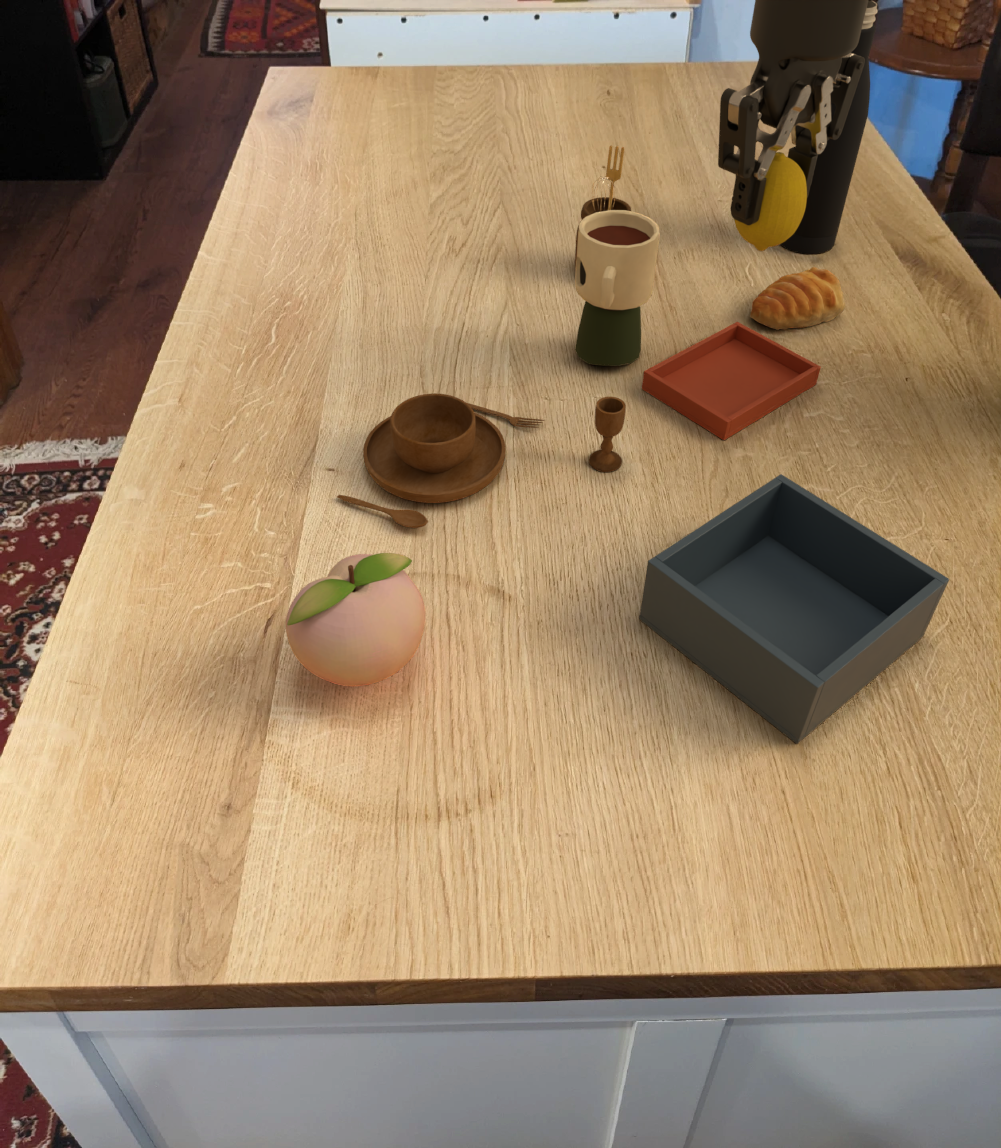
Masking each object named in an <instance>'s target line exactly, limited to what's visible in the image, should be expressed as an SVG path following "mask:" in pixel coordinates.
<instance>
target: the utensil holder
mask: <svg viewBox="0 0 1001 1148" xmlns="http://www.w3.org/2000/svg"><path fill="white" fill-rule="evenodd" d="M612 153H613V145H609V148H608V155H607V163H606V172H605V176H604V177H603V176H599V177H598V178H597V179H596V181H594V182H593V184H592V187H591V188H592V189H591V193H595V191H596V189H599V183H600V182H601V181H602V180H603V181H602V185H601V188H603V186H604V181H605V183H606V185H607V186H608V191H609V194H608V195H609V196H607V191H605V195H604V196H602V195H603V190H600V191H601V192H600V197H598V196H596V197H593V198H590V199H588V200H587V201H585V202H584V203H583V204H582V208H581V210H580V211H581V212H580V219H581V220H580V221H579V223H580V222H581V221H582V220H583V219H584V218H585V217H586V216H589V215H591V214H594V213H596V212H602V211H608V210H626V211H631V212H632V207H631V206H630V204H629V203H628V202H626V201H625V200H623V199H619V198H616V197H614V190H615V189H616V187H615V182H617V181H619V180H620V179H621V178H622V171H623V163H624V162H623V161H624V155H625V147H624V146H622V147H621V148H620V154H619V146H615V148H614V155H613V154H612ZM618 155H620V156H619V163H618V164H617V162H618ZM612 156H613V164H612V169H611V163H612ZM617 165H618V169H617ZM607 180H608V181H609V182H610V185H609V183H608V181H607ZM596 182H597V183H596ZM595 183H596V185H595ZM594 185H595V187H594ZM578 231H579V224H578V226H577V229H576V235H575V248H574V249H575V250H574V266H575V267H574V268H575V269H576V259H577V245H578Z"/></svg>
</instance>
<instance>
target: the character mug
mask: <svg viewBox="0 0 1001 1148" xmlns="http://www.w3.org/2000/svg"><path fill="white" fill-rule="evenodd" d="M580 221H581V220H580ZM580 221H579V223H578V225H579V231H578V245H577V259H576V268H575V277H574V287H575V291H576V293H577V294H578V296H580V298H581V299H582V300H583V301H585V302H584V305H583V308H582V312H581V317H580V321H579V324H578V330H577V334H576V341H575V347H574V351H575V353H576V355H577V358H579V359H580V360H582V361H583V362H584V363H586V364H588V365H595V366H602V367H603V366H607V367H608V366H609V367H614V366H615V367H616V366H617V367H619V366H624V365H629V364H632V363H634V362H635V361H636V360H638V359H639V358H640V355H641V351H642V315H641V314H642V313H641V312H642V311H641V306H642V305H644V304H647V303H648V301H649V300H650V298H651V297H652V296H653V291H654V284H655V276H656V268H657V259H658V252H659V245H660V244H659V243H660V226H659V224H657V222H655V220H654V219H652V217H649V216H646V215H645V214H642V213H640V212H636V211H632V210H631V211H626V210H608V211H602V212H596V213H594V214H591V215H589V216H586V217H585V218H584V219H583V220H582V221H581V222H580Z"/></svg>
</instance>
